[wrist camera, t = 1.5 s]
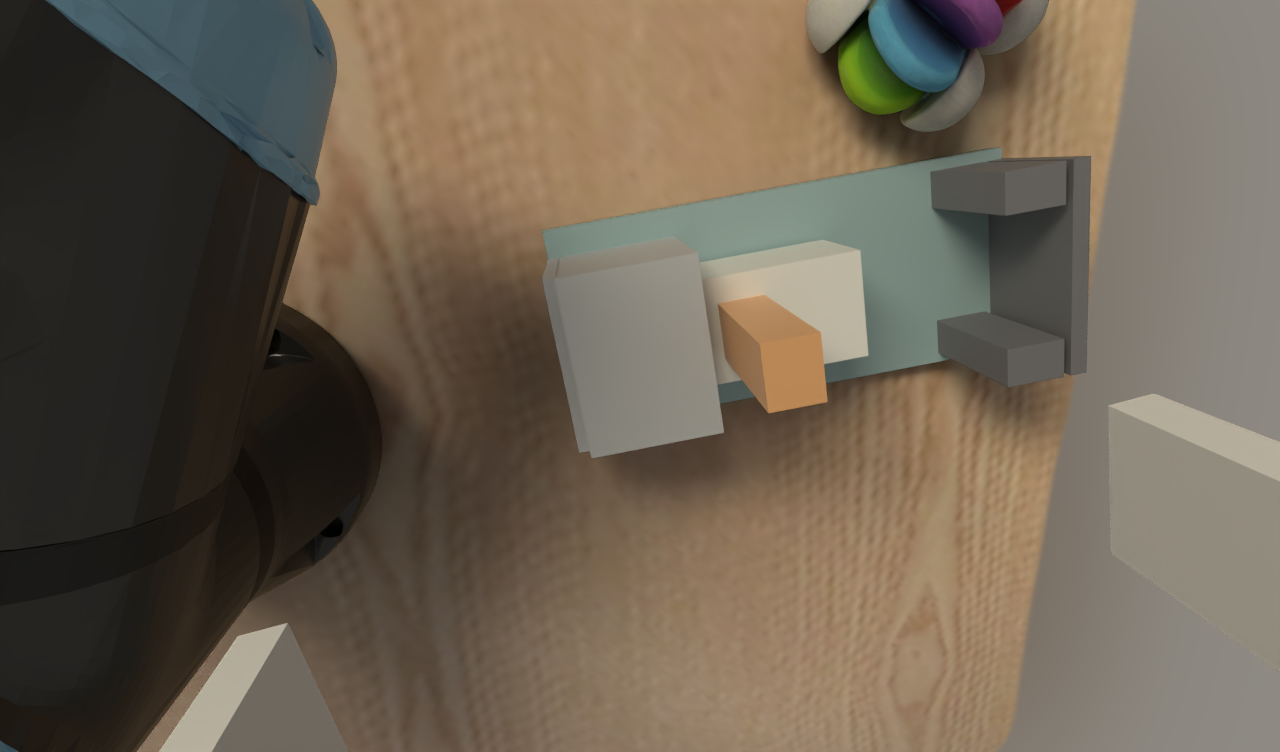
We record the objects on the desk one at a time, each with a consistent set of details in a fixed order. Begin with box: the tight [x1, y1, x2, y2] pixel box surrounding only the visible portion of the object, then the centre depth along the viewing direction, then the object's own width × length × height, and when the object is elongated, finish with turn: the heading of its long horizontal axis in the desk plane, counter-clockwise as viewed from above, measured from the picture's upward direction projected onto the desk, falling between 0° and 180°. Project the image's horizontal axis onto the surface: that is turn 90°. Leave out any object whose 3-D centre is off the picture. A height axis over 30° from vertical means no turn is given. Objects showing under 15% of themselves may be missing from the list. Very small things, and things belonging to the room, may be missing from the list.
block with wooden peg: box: [699, 240, 868, 413], centre depth 28 cm, size 12×5×12 cm, turn 100°
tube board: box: [542, 148, 1091, 458], centre depth 31 cm, size 22×10×8 cm, turn 100°
